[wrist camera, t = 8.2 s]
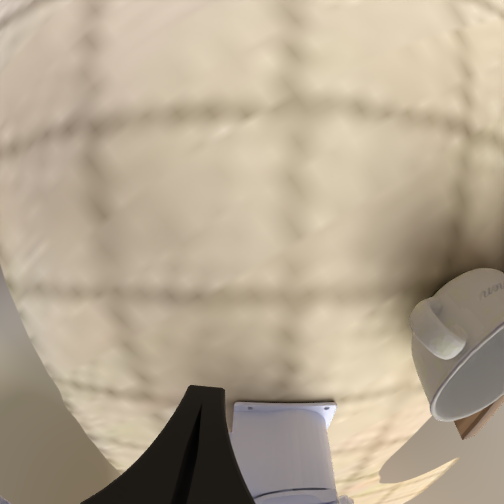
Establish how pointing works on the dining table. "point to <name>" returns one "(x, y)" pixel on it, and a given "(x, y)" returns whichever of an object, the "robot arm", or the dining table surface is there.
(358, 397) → the dining table surface
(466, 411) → the teacup
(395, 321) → the dining table surface
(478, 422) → the wall board
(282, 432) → the robot arm
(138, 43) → the dining table surface
